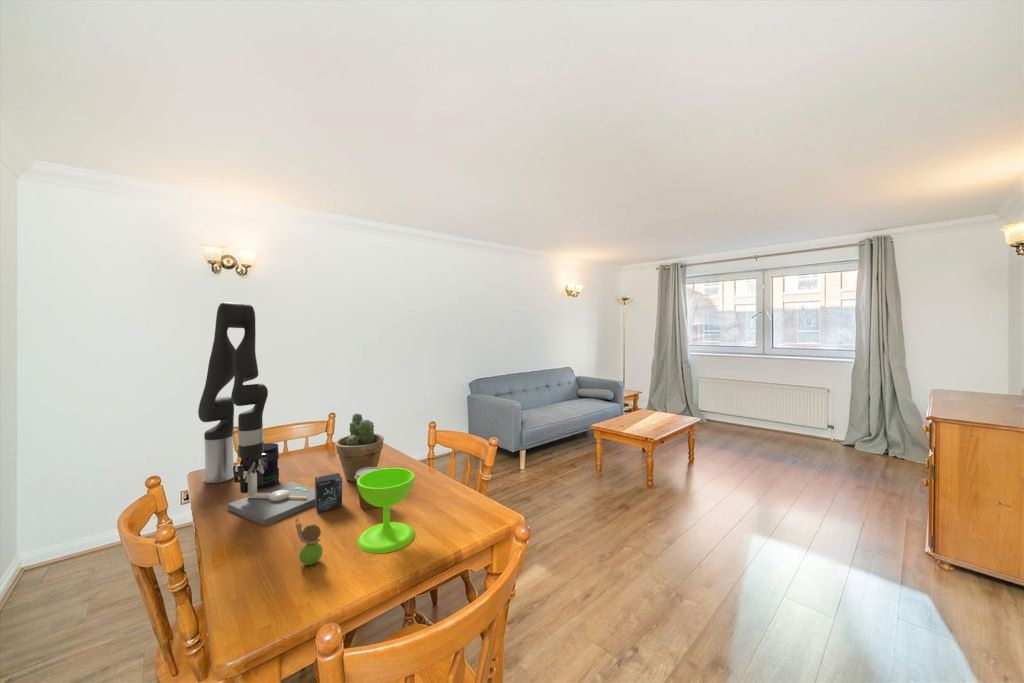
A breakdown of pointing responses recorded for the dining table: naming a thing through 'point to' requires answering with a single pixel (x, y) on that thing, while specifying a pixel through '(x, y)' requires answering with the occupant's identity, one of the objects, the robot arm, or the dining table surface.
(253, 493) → the tuning crank
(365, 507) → the disposable coffee cup
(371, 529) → the wineglass
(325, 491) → the box
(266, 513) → the dial board
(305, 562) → the snail figurine
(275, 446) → the storage jar
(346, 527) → the dining table surface
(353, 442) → the potted plant
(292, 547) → the dining table surface
